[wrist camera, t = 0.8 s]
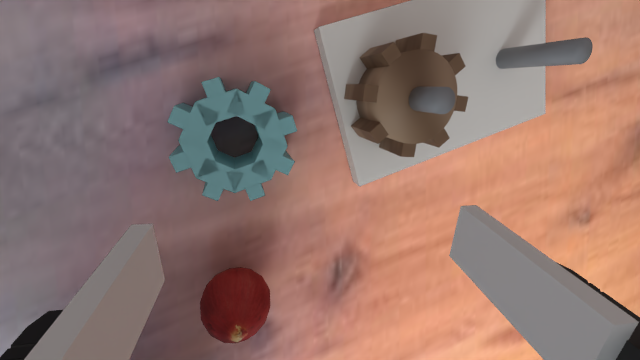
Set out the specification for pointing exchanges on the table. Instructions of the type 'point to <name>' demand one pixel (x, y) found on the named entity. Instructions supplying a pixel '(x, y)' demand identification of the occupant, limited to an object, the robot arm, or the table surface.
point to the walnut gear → (403, 94)
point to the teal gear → (222, 167)
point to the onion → (235, 305)
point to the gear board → (472, 81)
